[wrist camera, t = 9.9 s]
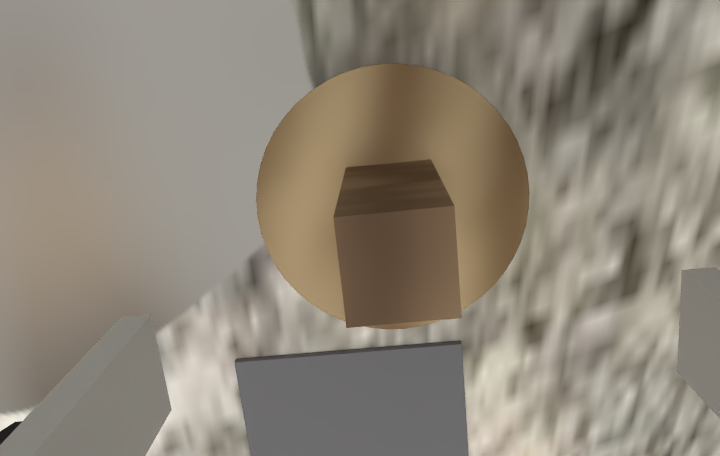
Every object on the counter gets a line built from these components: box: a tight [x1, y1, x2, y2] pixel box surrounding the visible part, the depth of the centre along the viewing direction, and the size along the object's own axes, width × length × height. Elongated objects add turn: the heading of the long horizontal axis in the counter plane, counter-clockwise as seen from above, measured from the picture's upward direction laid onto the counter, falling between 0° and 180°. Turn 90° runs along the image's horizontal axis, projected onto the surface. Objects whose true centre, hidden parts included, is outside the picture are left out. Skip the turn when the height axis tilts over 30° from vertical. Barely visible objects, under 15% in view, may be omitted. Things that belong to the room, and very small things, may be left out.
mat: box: [235, 341, 468, 456], centre depth 46 cm, size 16×16×1 cm
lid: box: [256, 63, 529, 329], centre depth 26 cm, size 13×13×10 cm
